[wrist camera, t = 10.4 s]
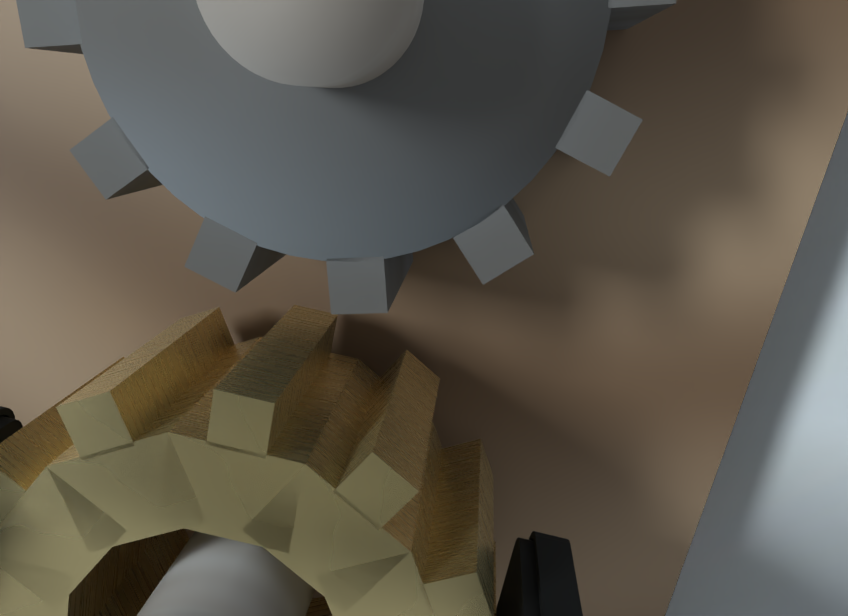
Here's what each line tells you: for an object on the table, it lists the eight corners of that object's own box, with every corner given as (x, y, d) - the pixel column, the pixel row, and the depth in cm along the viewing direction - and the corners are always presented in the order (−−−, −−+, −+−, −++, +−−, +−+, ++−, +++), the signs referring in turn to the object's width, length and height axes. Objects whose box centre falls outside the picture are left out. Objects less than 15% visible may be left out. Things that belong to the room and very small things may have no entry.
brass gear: (90, 258, 12) (-71, 324, 8) (544, 361, 11) (567, 470, 8) (61, 634, 14) (-78, 807, 10) (444, 726, 14) (429, 933, 10)
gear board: (6, -584, 11) (-573, -1395, 5) (980, -394, 10) (1609, -1029, 4) (-37, 652, 17) (-312, 939, 11) (566, 800, 16) (605, 1177, 11)
